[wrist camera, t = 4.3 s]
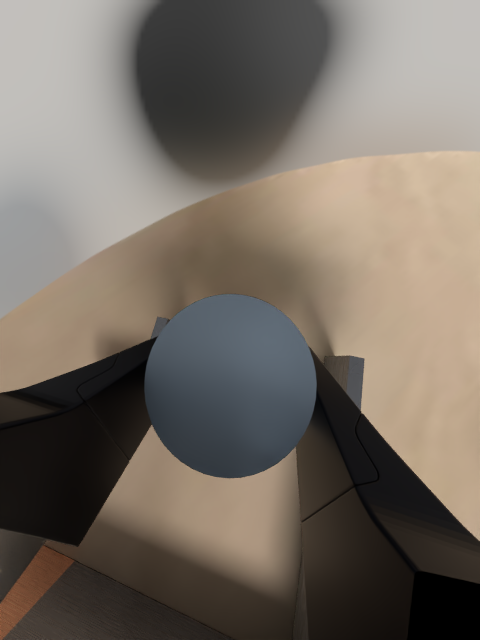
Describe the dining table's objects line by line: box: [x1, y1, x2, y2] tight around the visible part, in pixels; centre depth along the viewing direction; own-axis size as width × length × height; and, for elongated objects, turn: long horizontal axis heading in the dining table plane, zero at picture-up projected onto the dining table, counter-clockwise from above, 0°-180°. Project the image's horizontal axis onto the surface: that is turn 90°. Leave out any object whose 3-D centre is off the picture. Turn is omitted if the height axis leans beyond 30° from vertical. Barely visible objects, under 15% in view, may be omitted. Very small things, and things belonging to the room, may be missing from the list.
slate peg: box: [144, 294, 317, 478], centre depth 10 cm, size 5×5×10 cm
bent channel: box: [0, 317, 364, 640], centre depth 12 cm, size 20×20×4 cm
